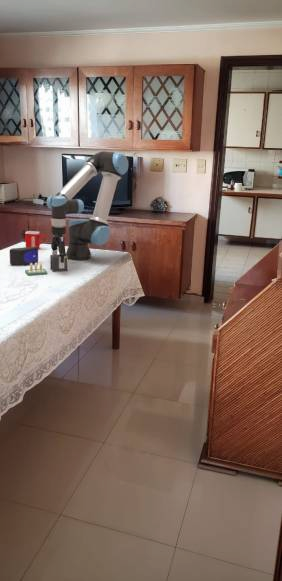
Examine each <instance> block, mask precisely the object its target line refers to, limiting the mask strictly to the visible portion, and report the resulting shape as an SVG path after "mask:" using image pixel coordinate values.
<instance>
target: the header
mask: <svg viewBox="0 0 282 581" xmlns="http://www.w3.org/2000/svg"><path fill="white" fill-rule="evenodd" d="M33 266H34V269H33ZM29 268H30V269H25V270H24V271H25V274H26V275H27V276H28V277H31V276H40V275H41V276H43V275H48V272H47V270H46V269H45V268H43V262H41V261H40V262H39V268H38V262H37V263H35V264H34V265H33V264H32V263H30V265H29Z"/></svg>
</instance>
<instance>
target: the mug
mask: <svg viewBox="0 0 282 581" xmlns="http://www.w3.org/2000/svg"><path fill="white" fill-rule="evenodd" d="M24 234H25V235H24V236H25V238H24V239H25V247H37V248H38V249H39V250H40V248H41V247H40V246H41V245H42V244H44V243H45V242H46V236H45V235H44V234H43V235H42V234H40V231H33V230H29V231H28V230H27V231H25V233H24ZM41 237H43V241H41V242H40V238H41Z"/></svg>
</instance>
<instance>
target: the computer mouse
mask: <svg viewBox="0 0 282 581" xmlns="http://www.w3.org/2000/svg"><path fill="white" fill-rule="evenodd" d="M38 262H39V250H38V248H37V247H26V246H24V247H15V248H10V249H9V265H11V266H14V267H15V266H30V263H32V265H35V263H37V264H38Z"/></svg>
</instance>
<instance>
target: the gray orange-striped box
mask: <svg viewBox="0 0 282 581" xmlns="http://www.w3.org/2000/svg"><path fill="white" fill-rule="evenodd" d="M59 255H60V254H57V255H52V254H50V258H49V268H50V271H52V272H53V273H54V272H55V273H56V272H57V273H58V272H67V271H68V258H67V256H65V258H64V268H61V269H59Z"/></svg>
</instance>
